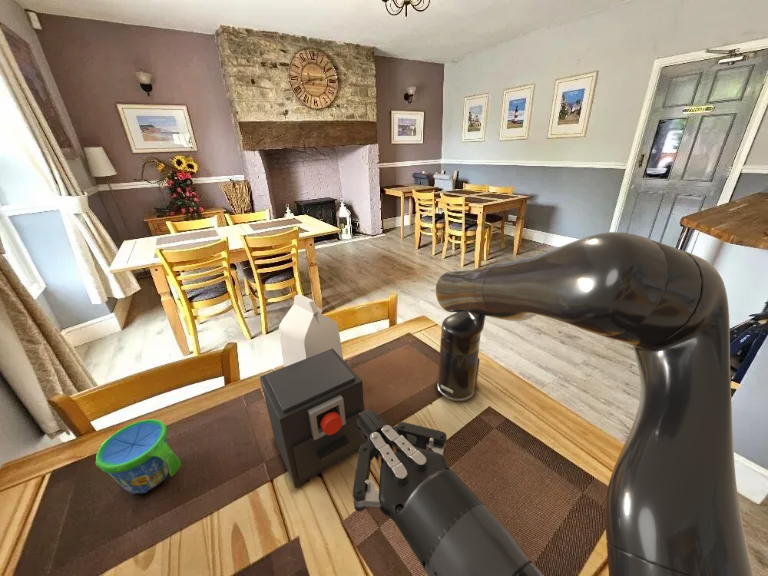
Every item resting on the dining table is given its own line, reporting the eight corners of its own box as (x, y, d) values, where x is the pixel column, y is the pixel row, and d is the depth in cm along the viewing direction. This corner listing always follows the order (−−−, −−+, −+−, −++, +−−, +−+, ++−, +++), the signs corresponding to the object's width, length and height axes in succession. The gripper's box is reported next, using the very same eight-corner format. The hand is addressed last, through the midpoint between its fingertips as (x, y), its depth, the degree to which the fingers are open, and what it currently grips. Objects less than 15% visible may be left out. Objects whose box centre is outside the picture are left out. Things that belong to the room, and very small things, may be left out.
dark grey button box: (339, 408, 77) (332, 345, 69) (373, 454, 65) (369, 385, 57) (274, 440, 69) (258, 374, 61) (300, 500, 57) (283, 427, 49)
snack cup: (202, 463, 64) (188, 428, 60) (154, 516, 55) (134, 479, 51) (147, 444, 69) (130, 410, 64) (94, 491, 59) (70, 455, 55)
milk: (286, 384, 85) (269, 299, 74) (319, 363, 93) (308, 284, 82) (313, 405, 78) (298, 315, 67) (346, 380, 86) (338, 296, 75)
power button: (339, 422, 58) (337, 408, 56) (343, 428, 56) (341, 414, 55) (321, 432, 56) (319, 417, 54) (325, 438, 55) (323, 423, 53)
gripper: (514, 474, 29) (403, 373, 42) (402, 575, 23) (311, 418, 36) (503, 521, 32) (403, 413, 45) (402, 621, 26) (318, 461, 39)
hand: (362, 416), depth 41 cm, fingers closed
